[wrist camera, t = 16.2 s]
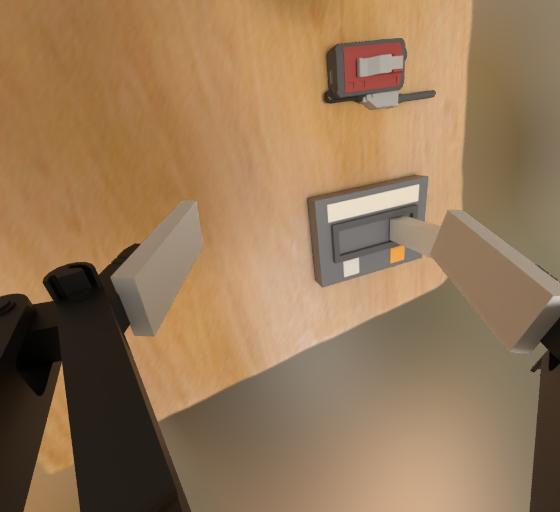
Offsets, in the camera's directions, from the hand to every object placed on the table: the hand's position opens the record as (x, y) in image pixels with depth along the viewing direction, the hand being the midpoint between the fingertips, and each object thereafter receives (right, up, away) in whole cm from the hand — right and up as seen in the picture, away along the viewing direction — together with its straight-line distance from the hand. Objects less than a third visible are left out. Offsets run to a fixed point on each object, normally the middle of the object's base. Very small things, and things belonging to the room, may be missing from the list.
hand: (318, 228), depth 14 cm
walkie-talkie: (+13, +26, +27) cm, 40 cm away
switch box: (+14, +4, +36) cm, 39 cm away
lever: (+19, +4, +34) cm, 39 cm away
